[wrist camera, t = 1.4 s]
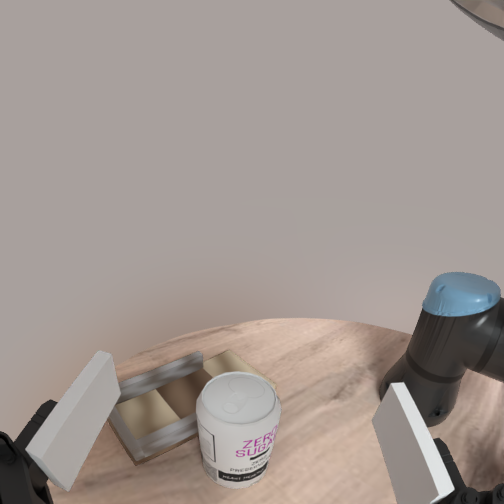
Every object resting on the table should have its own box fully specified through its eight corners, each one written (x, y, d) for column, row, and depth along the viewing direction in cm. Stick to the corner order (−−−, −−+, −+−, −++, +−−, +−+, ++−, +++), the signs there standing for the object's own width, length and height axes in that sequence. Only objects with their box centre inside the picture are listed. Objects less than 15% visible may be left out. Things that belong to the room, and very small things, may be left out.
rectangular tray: (229, 353, 52) (229, 337, 51) (275, 388, 44) (278, 371, 43) (101, 408, 35) (94, 391, 33) (135, 465, 27) (128, 451, 25)
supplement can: (222, 433, 34) (222, 358, 29) (276, 454, 31) (295, 383, 26) (191, 472, 27) (177, 405, 22) (250, 499, 24) (262, 443, 19)
